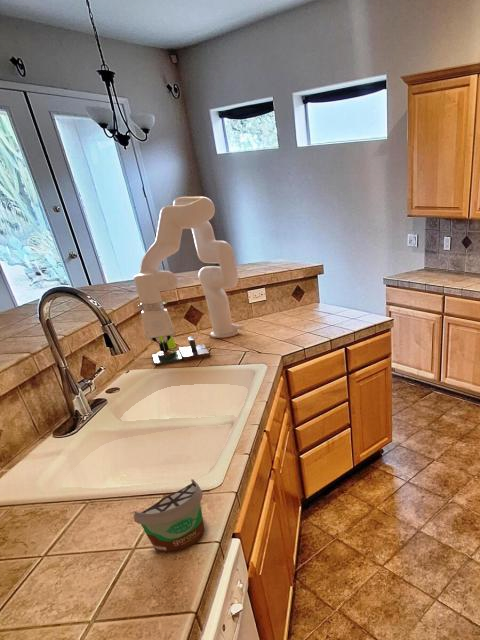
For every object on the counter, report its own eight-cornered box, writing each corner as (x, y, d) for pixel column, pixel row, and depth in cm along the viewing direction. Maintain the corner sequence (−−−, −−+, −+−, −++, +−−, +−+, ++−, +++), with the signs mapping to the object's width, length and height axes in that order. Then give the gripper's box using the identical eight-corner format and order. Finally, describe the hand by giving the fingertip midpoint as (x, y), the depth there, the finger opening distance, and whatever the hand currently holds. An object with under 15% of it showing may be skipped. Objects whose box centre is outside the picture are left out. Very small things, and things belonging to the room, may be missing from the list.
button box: (179, 353, 184) (177, 346, 183) (182, 361, 175) (180, 354, 173) (153, 357, 179) (151, 350, 178) (155, 365, 170) (153, 358, 169)
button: (171, 354, 179) (170, 350, 178) (172, 356, 176) (171, 352, 175) (161, 355, 177) (160, 351, 176) (162, 358, 174) (161, 353, 173)
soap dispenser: (174, 349, 189) (161, 303, 180) (158, 349, 189) (145, 303, 180) (180, 345, 194) (168, 300, 185) (165, 345, 195) (153, 300, 185)
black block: (197, 351, 180) (194, 339, 177) (192, 352, 179) (189, 340, 176) (195, 348, 183) (192, 336, 181) (190, 349, 182) (187, 337, 180)
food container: (167, 568, 76) (151, 524, 71) (147, 555, 79) (130, 512, 74) (225, 527, 85) (214, 487, 81) (205, 517, 88) (194, 477, 84)
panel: (204, 348, 190) (203, 343, 188) (210, 357, 179) (209, 352, 178) (180, 352, 185) (178, 347, 184) (184, 361, 174) (183, 356, 173)
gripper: (131, 311, 161) (145, 357, 169) (174, 306, 168) (186, 351, 176) (130, 307, 167) (144, 352, 175) (172, 303, 173) (183, 346, 182)
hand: (165, 352), depth 175 cm, fingers closed
